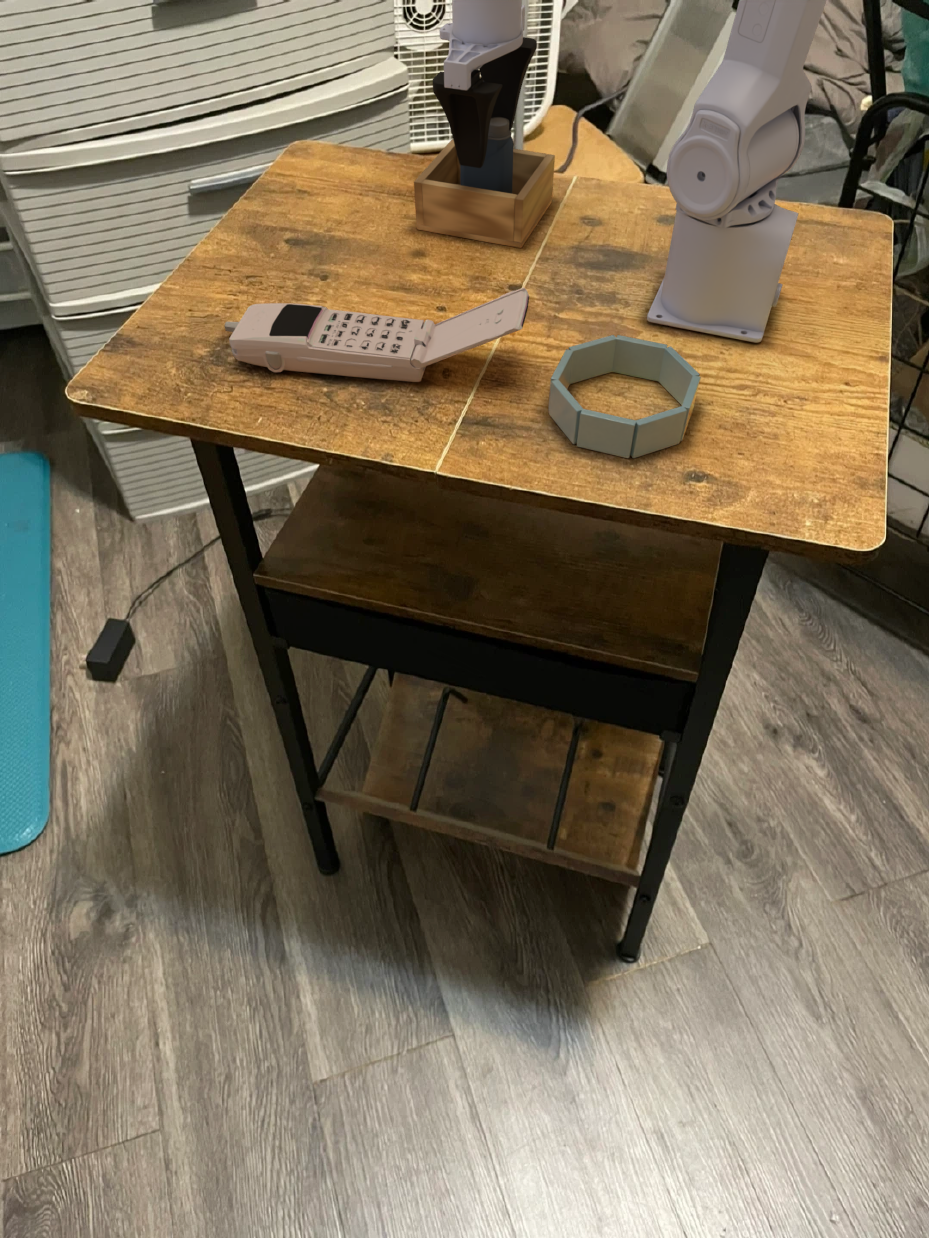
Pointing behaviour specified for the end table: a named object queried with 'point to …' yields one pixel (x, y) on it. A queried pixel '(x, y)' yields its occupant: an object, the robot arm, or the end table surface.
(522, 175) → the holder
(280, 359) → the mobile phone
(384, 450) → the end table surface
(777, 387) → the end table surface
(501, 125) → the vaping device
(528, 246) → the end table surface
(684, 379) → the octagonal ring
